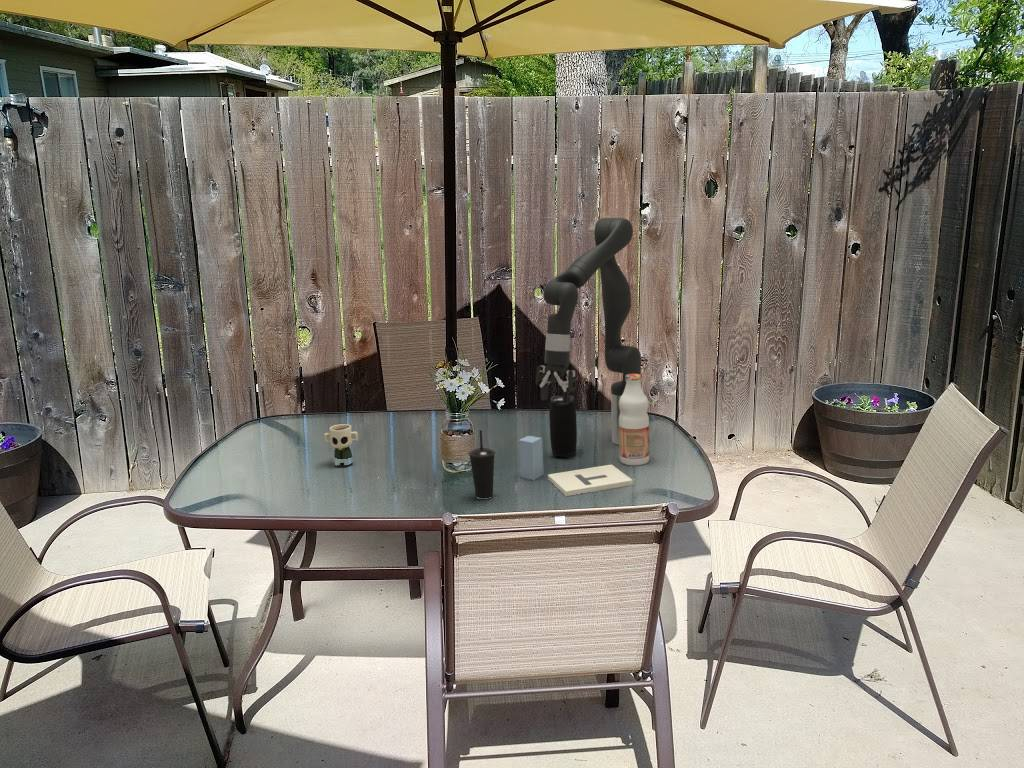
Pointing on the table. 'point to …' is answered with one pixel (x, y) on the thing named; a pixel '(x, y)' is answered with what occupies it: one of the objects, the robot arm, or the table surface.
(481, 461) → the drinking cup
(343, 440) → the character mug
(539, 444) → the slate pillar
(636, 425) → the fruit juice
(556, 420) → the portable speaker
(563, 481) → the letter board
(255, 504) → the table surface
